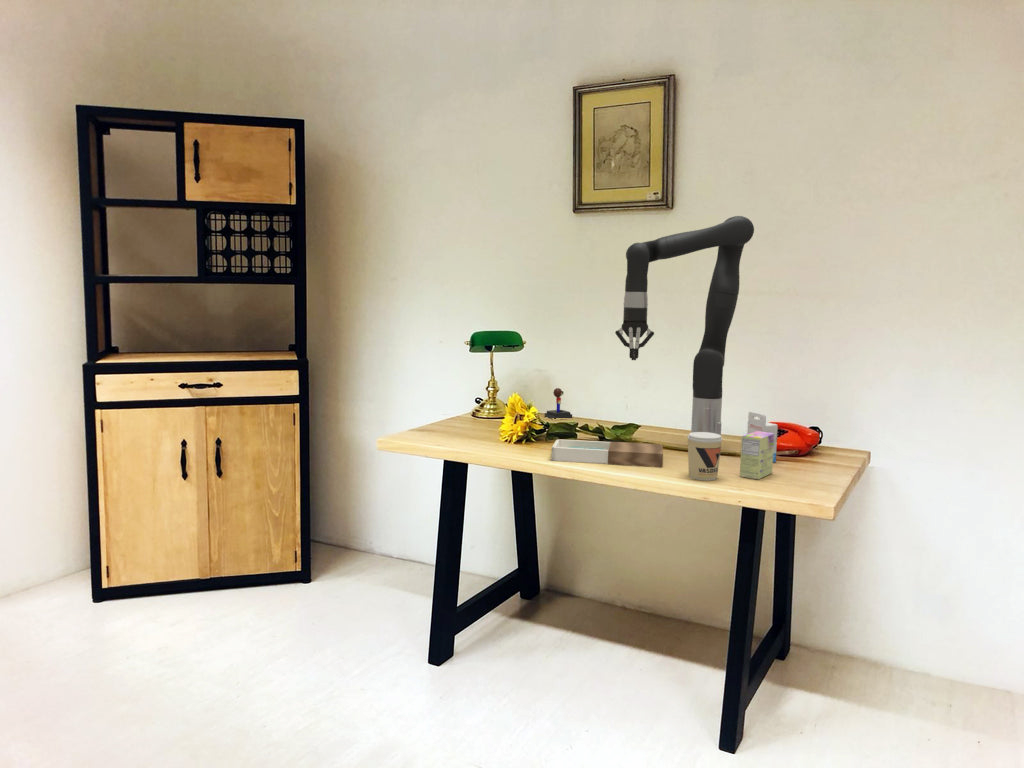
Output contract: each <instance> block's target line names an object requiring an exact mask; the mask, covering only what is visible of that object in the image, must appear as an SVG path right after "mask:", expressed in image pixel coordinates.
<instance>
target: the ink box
mask: <svg viewBox="0 0 1024 768" xmlns="http://www.w3.org/2000/svg"><path fill="white" fill-rule="evenodd" d="M747 417H748V421H747V430H746V434H749V433H752V432H755V431H760V432H768V433H774V446H773V463H776V462H777V445H778V444H777V442H778V441H777V440H778V429H779V428H778V424H776V423H771V422H767V416H766V415H765V414H761V413H758V412H757V413H756V412H752V411H748V416H747ZM755 417H757V418H755Z"/></svg>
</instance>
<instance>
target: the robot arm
mask: <svg viewBox="0 0 1024 768" xmlns="http://www.w3.org/2000/svg"><path fill="white" fill-rule="evenodd" d="M754 232H755V227H754V224H753V222H752V220H750V219H749V218H747V217H746V216H743V215H735V216H731V217H728V218H727V219H725V220H724V221H723V222H721V223H718V224H716V225H713V226H708V227H706V228H701V229H695V230H690V231H683V232H680V233H674V234H671V235H670V234H669V235H666V236H661V237H659V238H657V239H654V240H653V239H652V240H647V241H643V242H634V243H632V244H631V245H630V246H629V247H628V248H627V249H626V252H625V258H626V276H625V282H624V283H625V285H624V286H625V287H624V289H625V290H624V297H623V320H622V324H621V327H620V328H618V330H616V331H615V333H614V334H615V335H616V336H617V338H618V339H619V341H620V343H622V344H623V346H624V347H627V348H629V359H631V361H637V360H638V359H639V354H640V352H639V351H640V349H641V348H643V347H645V346H646V344H648V342H649V341H650V340H651V339H652V337H653V336H654V335H655V332H654V331H652V330H651V329H650V328H649V325H648V305H649V302H648V301H649V300H648V272H649V267H650V263H652V262H656V261H659V260H667V259H672V258H676V257H677V258H678V257H680V256H685V255H688V254H691V253H694V252H699V251H702V250H706V249H711V248H716V247H718V248H717V256H716V262H715V266H714V267H713V268H714V269H713V271H712V276H711V280H710V285H709V287H708V292H707V293H708V294H707V298H706V304H705V312H704V313H705V315H704V317H705V318H704V332H703V337H702V341H701V345H700V347H699V350H698V352H697V353H696V355H695V356H694V359H693V364H692V365H693V366H692V367H693V368H692V407H691V408H692V410H691V429H690V430H691V431H690V433H692V432H710V433H716V434H719V435H721V436H722V404H723V377H724V376H723V373H724V366H725V361H726V360H725V358H726V357H725V355H726V347H727V346H726V345H727V340H728V339H727V338H728V333H729V330H730V327H731V325H732V321H733V318H734V315H735V310H736V308H737V307H736V306H737V303H738V298H739V293H740V264H741V260H742V259H741V258H742V254H743V250H744V247H745V244H747V243H749V242H750V241H751V240H752V238H753V236H754ZM624 333H625V335H626V337H628V341H629V342H628V341H627V340H626V339H625V338H624ZM644 334H646V337H645V338H644V339H643V340H642V342H640V339H641V338H642V337H643V336H644ZM634 338H635V341H634ZM634 343H635V344H634Z"/></svg>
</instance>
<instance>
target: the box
mask: <svg viewBox="0 0 1024 768" xmlns="http://www.w3.org/2000/svg"><path fill="white" fill-rule="evenodd" d="M740 442H741V443H740V463H739V465H740V466H739V477H741V478H747V479H753V480H761V479H763V478H765V477H766V476H768V475H772V473H773V464H774V462H773V446H774V433H768V432H760V431H755V432H752V433H749V434H747V433H746V434H743V435H741V441H740Z"/></svg>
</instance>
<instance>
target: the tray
mask: <svg viewBox="0 0 1024 768" xmlns="http://www.w3.org/2000/svg"><path fill="white" fill-rule="evenodd" d="M611 442H612V441H600V440H599V441H598V440H582V439H581V440H579V439H578V440H577V439H564V438H563V439H560V438H557V439H556V440H555V442H554V443H553V445H552V446H551V462H553V461H554V462H570V463H571V462H572V463H589V464H603V463H605V465H606V464H607V465H609V464H608V450H609V446H610V443H611ZM569 446H571V447H585V449H582V448H569ZM588 447H591V448H604V450H600V449H587V448H588Z"/></svg>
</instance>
